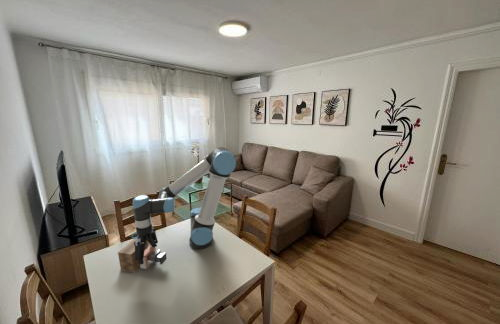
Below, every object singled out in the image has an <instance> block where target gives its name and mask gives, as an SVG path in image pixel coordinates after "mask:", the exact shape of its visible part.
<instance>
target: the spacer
mask: <svg viewBox="0 0 500 324" xmlns="http://www.w3.org/2000/svg"><path fill="white" fill-rule="evenodd" d="M151 252H154V253H155V249H154V247H153V246H151V245H148V248H147V249H146V250H145V251H144V257H145V262H146V269H147V268H148V267H149V261H148V259H147V256H148V255H149V254H150V253H151Z"/></svg>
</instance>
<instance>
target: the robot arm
mask: <svg viewBox="0 0 500 324" xmlns="http://www.w3.org/2000/svg"><path fill="white" fill-rule="evenodd" d="M236 164H237V163H236V157H235V155H234V154H233V153H232V152H231V151H230V150H229V149H227V148H226V147H222V146H221V147H216V148H214V149H213V150H212V151H211V152H209V153H208V154H206V156H203V160H201V161H200V162H199V163H198V164H196V165H195V166H193V167H192V168H190V169H189V170H188V171H187V172H185V173H184V174H182V175H181V176H180V177H178V178H177V179H176V180H174V181H173V182H172V183H170V184H169V185H168V186H164V187H163V188H161V189H160V190H159V193H158V196H157V198H155V199H154V198H151V199H150V197H149V196H148V195H143V194H141V195H138V196H136V197H134V198H133V199H132V210H133V215H134V216H133V217H134V223H135V233H136V232H137V234H136V235H137V236H139V237H138V240H137V242H136V241H135V242H134V245H135V260H139V264H140V269H147V268H146V262H145V257H144V251H145V245H146V243H147V241H148V244H149V246H153V247H154V249H155V253H156V252H157V250H156V249H157V248H156V247H158V243H159V241H158V238H157V237H158V236H157V233H156V228H155V227H153V224H152V223H153V221H152V215H155V214H156V215H157V214H166V213H171V212H174V211H175V208H176V203H175V202H176V201H175V198H176V197H177V196H178V195H180V194H181V193H182V192H184V191H186V190H187V189H188V188H189V187H191V186H192V185H194V183H196V182H197V181H199V180H200V179H201V178H203V177H204V176H206V175H207V174H208V173H209V174H210V176H209V179H208V182H207V186H206V189H205V193H204V196H203V199H202V202H201V205H200V207H196V208H193V209H191V210H190V212H189V216H190V217H189V218H190V236H189V240H188V241H189V242H188V243H189V244H188V245H189V246H190V248H192V249H193V250H194V249H195V250H204V249H207V248H209V247H211V245H212V244H213V243H214V232H213V230H214V226H215V224H216V219H215V218H214V217H215V215H216V211H217V209H218V206H219V205H218V204H219V202H220V199H221V196H222V193H223V190H224V186H225V184H226V180H227V179H229V178H230V177H231V173H233V171H235V169H236ZM142 242H143V243H142Z"/></svg>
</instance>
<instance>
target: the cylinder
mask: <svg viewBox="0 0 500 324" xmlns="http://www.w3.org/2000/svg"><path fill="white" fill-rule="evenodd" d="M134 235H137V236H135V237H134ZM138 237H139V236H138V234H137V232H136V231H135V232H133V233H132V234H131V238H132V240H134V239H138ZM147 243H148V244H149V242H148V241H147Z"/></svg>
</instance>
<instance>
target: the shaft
mask: <svg viewBox="0 0 500 324" xmlns="http://www.w3.org/2000/svg"><path fill="white" fill-rule="evenodd" d="M147 259H148V262H152V265H153V266H155V265H157V263H159V265H163V264H164V263H165V262H166V261H167V252H165V251H163V253H161V250H160V249H157V250H156V253H154V252H151V253H150V254H149V255H148V256H147Z"/></svg>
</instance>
